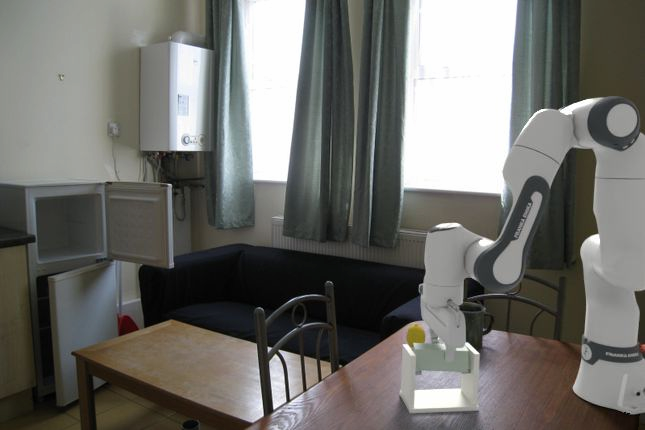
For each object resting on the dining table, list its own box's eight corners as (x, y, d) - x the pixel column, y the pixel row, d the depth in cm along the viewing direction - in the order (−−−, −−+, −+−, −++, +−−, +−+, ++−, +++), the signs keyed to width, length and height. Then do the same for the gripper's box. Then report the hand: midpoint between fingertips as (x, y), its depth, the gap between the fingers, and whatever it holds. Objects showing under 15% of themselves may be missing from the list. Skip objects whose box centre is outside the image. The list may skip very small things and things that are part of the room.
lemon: (424, 354, 149) (425, 327, 148) (405, 352, 150) (406, 326, 149) (425, 347, 154) (426, 321, 153) (406, 345, 155) (407, 320, 154)
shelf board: (414, 370, 117) (415, 349, 117) (412, 363, 121) (413, 342, 121) (467, 372, 117) (468, 351, 116) (463, 365, 121) (464, 344, 120)
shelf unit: (463, 392, 125) (466, 341, 124) (478, 410, 116) (481, 355, 115) (399, 394, 123) (401, 342, 122) (410, 413, 115) (412, 357, 113)
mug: (440, 339, 161) (442, 302, 160) (484, 337, 163) (486, 301, 162) (453, 352, 151) (455, 312, 149) (500, 350, 152) (502, 311, 151)
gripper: (474, 307, 107) (472, 370, 109) (441, 282, 127) (439, 336, 129) (445, 308, 106) (443, 371, 108) (416, 283, 126) (415, 337, 128)
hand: (441, 352), depth 118 cm, fingers open, 8 cm apart
